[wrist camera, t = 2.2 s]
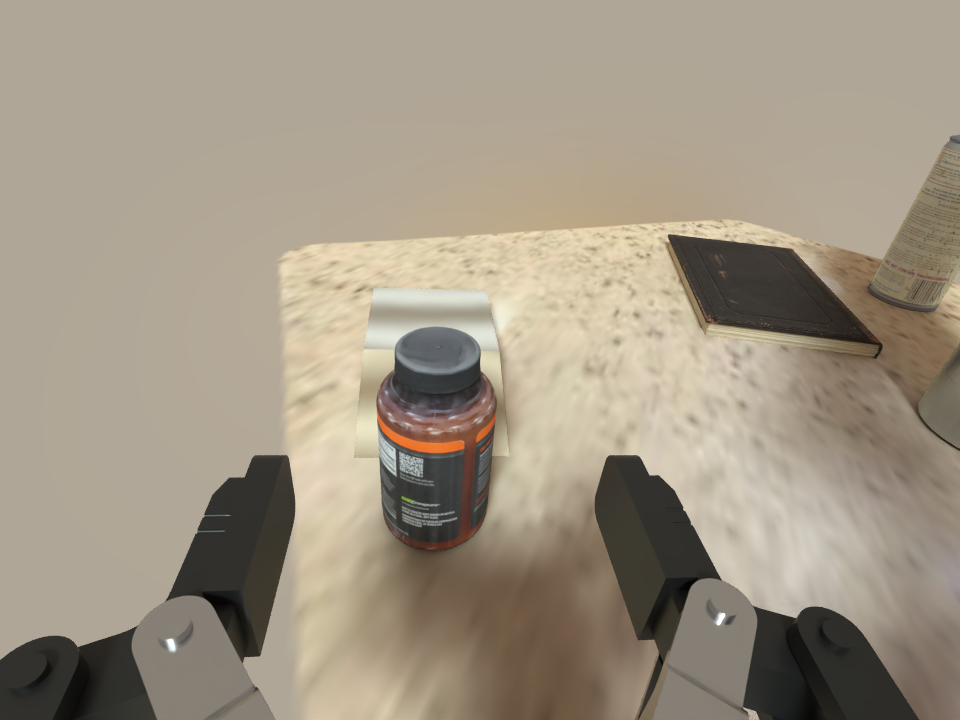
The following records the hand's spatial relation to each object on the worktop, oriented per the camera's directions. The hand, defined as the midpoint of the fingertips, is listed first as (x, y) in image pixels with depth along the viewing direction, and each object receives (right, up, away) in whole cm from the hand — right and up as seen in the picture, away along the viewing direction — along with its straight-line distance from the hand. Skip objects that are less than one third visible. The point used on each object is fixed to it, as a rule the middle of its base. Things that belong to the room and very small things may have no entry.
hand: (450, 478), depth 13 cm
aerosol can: (+50, +10, +48) cm, 70 cm away
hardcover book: (+31, +10, +46) cm, 56 cm away
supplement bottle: (-2, -6, +17) cm, 18 cm away
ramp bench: (-3, +1, +29) cm, 29 cm away
